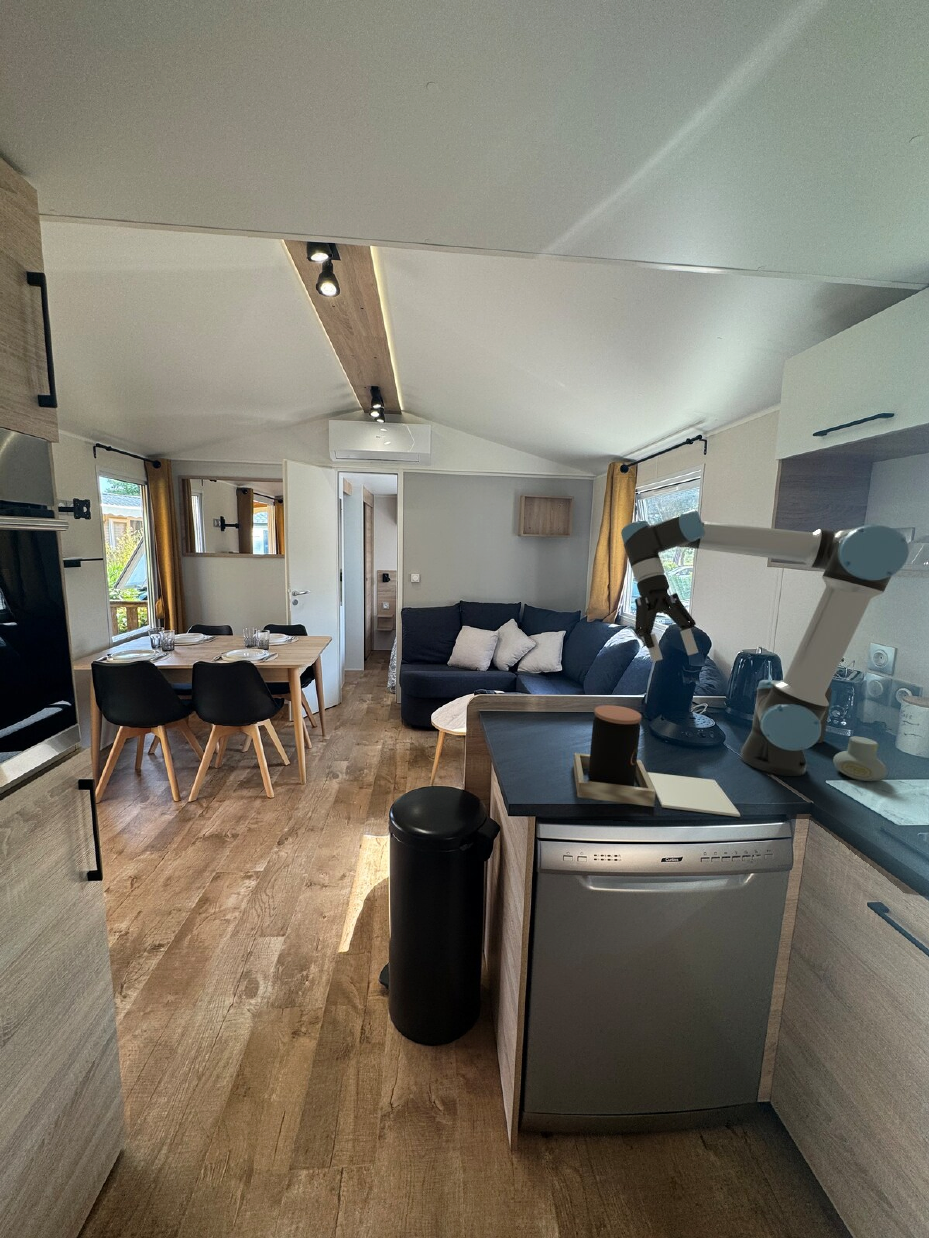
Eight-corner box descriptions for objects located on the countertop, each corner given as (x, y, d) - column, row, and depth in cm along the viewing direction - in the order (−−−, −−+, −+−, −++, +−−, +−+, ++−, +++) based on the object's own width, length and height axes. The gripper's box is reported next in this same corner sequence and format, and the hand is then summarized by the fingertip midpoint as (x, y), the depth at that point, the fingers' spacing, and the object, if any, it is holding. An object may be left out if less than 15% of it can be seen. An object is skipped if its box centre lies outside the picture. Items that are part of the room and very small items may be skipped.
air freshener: (886, 779, 127) (893, 743, 126) (881, 789, 122) (888, 751, 120) (835, 764, 135) (841, 730, 134) (828, 772, 130) (834, 737, 128)
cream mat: (714, 782, 121) (714, 779, 120) (739, 816, 105) (740, 814, 105) (646, 774, 123) (647, 772, 123) (662, 807, 107) (662, 804, 107)
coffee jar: (636, 798, 110) (645, 722, 108) (588, 791, 112) (595, 717, 110) (630, 777, 121) (638, 707, 118) (586, 771, 123) (592, 702, 120)
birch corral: (639, 773, 123) (640, 760, 123) (653, 806, 107) (655, 791, 107) (573, 765, 126) (574, 752, 125) (577, 797, 110) (579, 782, 109)
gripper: (670, 581, 137) (695, 654, 132) (605, 586, 125) (630, 666, 120) (693, 571, 131) (719, 647, 126) (627, 575, 119) (653, 659, 114)
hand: (675, 657), depth 123 cm, fingers open, 13 cm apart
